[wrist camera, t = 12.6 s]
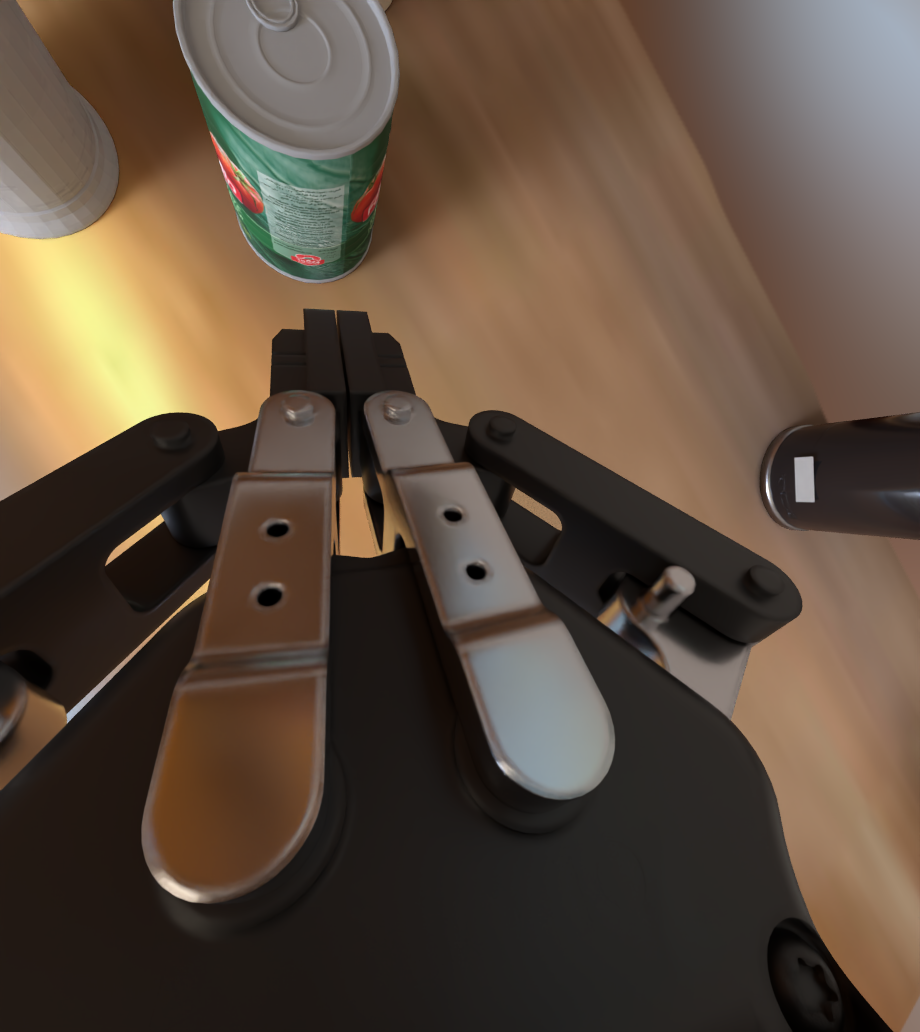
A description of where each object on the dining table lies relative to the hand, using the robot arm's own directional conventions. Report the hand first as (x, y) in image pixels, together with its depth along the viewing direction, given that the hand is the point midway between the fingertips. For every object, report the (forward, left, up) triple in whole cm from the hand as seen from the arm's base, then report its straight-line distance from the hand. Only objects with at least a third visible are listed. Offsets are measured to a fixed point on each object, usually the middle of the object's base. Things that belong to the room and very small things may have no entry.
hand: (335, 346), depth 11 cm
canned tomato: (-4, -12, -18) cm, 22 cm away
